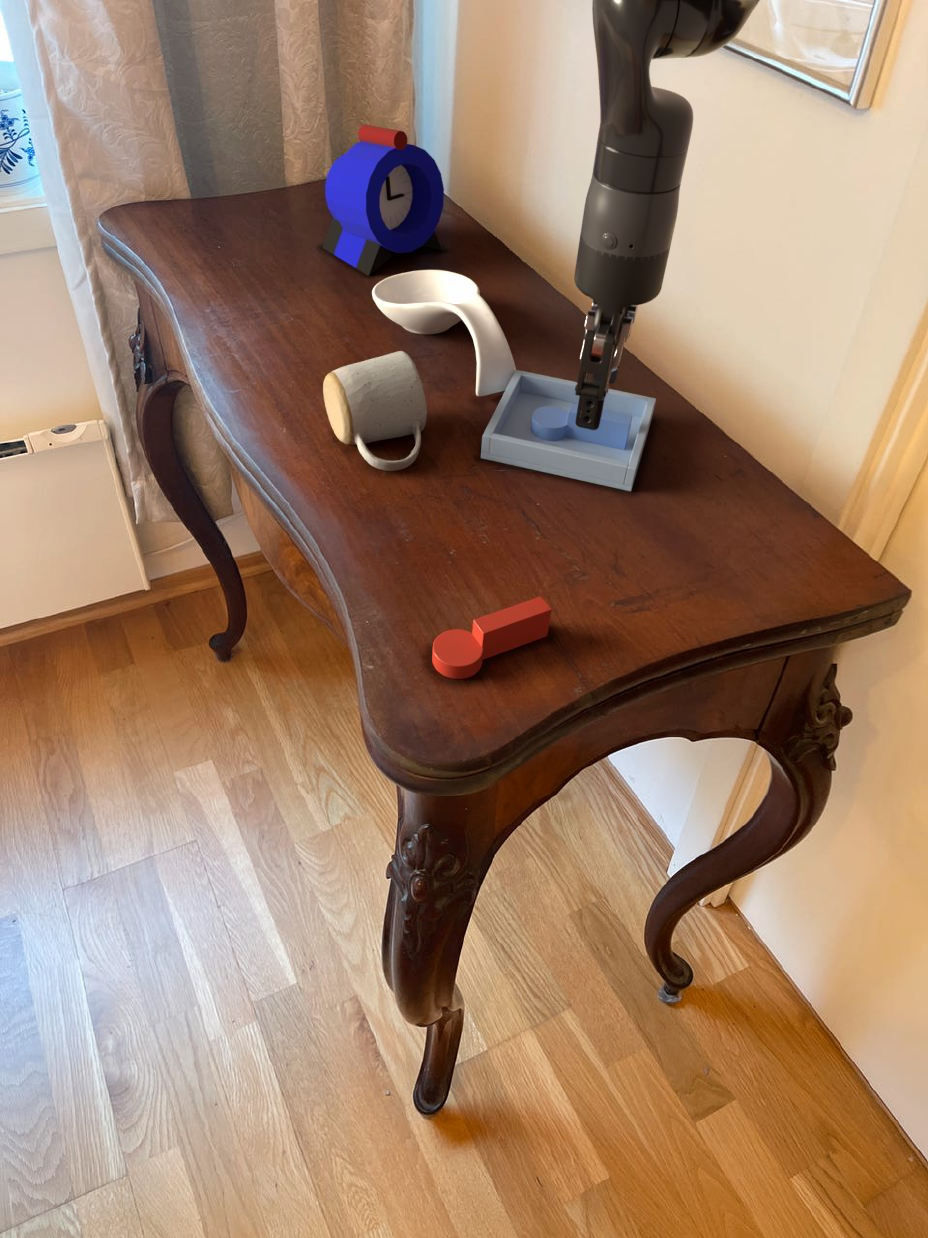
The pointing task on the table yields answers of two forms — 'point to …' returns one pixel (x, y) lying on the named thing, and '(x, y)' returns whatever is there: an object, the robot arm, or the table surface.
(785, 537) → the table surface
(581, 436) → the blue spoon
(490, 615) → the red disc with bar
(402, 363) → the ceramic mug
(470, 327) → the spoon rest
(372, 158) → the alarm clock
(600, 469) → the blue tray
